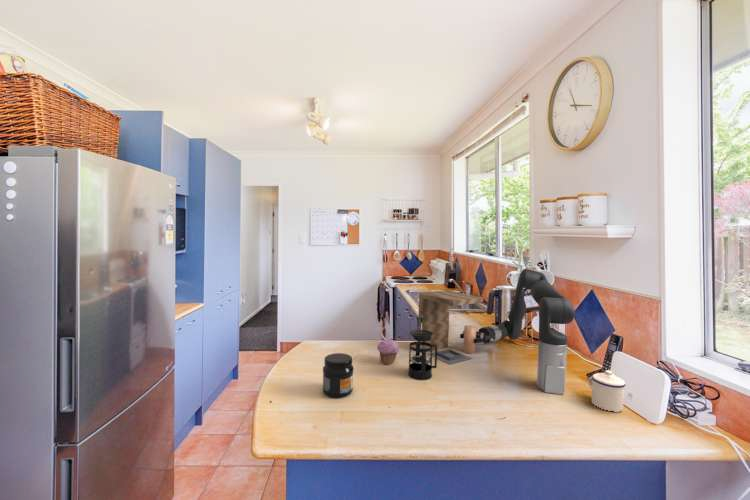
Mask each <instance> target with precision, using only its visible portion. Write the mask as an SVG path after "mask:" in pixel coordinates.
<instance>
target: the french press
mask: <svg viewBox="0 0 750 500" xmlns="http://www.w3.org/2000/svg"><path fill="white" fill-rule="evenodd" d="M416 319H417V320H418V319H420V322H421V330H418V329H412V330H410V331H409V334H410V336H412V337H413V339H414V340H415V341H412V342H410V343H409V344H408V347H409V349H408V351H409V352H408V353H409V354H408V372H407V375H408V377H409V378H411V379H413V380H416V381H417V380H418V381H427V380H430V379H432V378H433V373H432V372H433V371H432V369H436V368H437V363H438V362H437V361H438V359H437V352H438V349H437V346H436V345H432V344H430V343H427V342H421V341H430V340H431V339H432V335H433V333H432V332H430V331H427V330H422V322H423V320H426V319H427V318H426V317H418V316H416ZM421 345H426V346H429V347H431V348H427V349H421ZM413 346H415V347H413ZM432 347H435V350H434V352H435V358H434V364H433V357H432V353H433V350H432ZM412 351H413V352H415V355H412V354H411V353H412ZM421 352H422V353H421ZM427 353H430V355H429V356H427Z"/></svg>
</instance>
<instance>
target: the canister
mask: <svg viewBox="0 0 750 500" xmlns="http://www.w3.org/2000/svg"><path fill="white" fill-rule="evenodd" d="M463 327H464V329H463V331H464V338H463V350H462V351H463V353H465V354H470V355H474V354H476V348H477V347H476V344H477V343H476V344H475V343H474V339H475V338H476V331H477V327H476V326H474V325H470V324H469V325H464V326H463Z"/></svg>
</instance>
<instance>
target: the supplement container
mask: <svg viewBox="0 0 750 500" xmlns="http://www.w3.org/2000/svg"><path fill="white" fill-rule="evenodd" d="M323 362H324V365H323V366H322V392H323V394H324V395H325V396H327V397H329V398H334V399H340V398H345V397H348V396H350V395H351V393H353V390H354V368H355V367H354V365H353V357H352V355H350V354H347V353H342V352H341V353H340V352H336V353H331V354H328V355H326V356H325V357H324V361H323Z"/></svg>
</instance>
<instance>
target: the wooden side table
mask: <svg viewBox="0 0 750 500" xmlns="http://www.w3.org/2000/svg"><path fill="white" fill-rule="evenodd" d="M483 302H484V298H483V297H481V296H476V295H471V294H467V293H461V292H457V291H453V290H438V291H436V290H435V291H426V292H419V293H418V316H417V317H426V318H427V319H426V320H423V322H422V330H427V331H430V332H432V333H433V335H432V339H431V340H430V341H421V342H427V343H430V344H432V345H436V346H437V350H441V349H445V348H448V347H449V335H450V334H449V333H450V331H449V330H450V306H452V307H455V306H465V305H473V304H480V303H483ZM417 320H418V322H417V324H418V326H417V330H421V322H420V319H417ZM427 348H431V347H429V346H426V345H421V349H427ZM432 351H435V347H432ZM421 354H422V352H421Z"/></svg>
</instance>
